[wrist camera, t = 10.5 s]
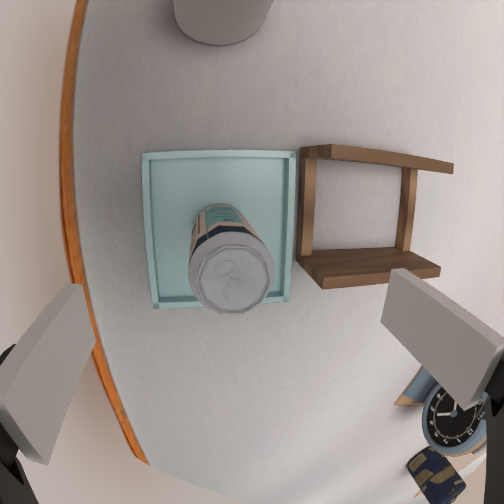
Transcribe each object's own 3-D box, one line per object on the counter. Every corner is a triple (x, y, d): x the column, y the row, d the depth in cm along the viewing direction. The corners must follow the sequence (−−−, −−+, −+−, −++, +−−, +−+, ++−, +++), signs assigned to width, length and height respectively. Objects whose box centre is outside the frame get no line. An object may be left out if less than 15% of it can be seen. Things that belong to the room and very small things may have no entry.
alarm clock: (439, 338, 38) (512, 404, 21) (465, 346, 40) (528, 401, 24) (390, 408, 41) (442, 482, 24) (421, 408, 43) (470, 469, 27)
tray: (145, 153, 24) (141, 153, 22) (290, 152, 26) (296, 151, 24) (155, 300, 28) (153, 308, 27) (284, 293, 30) (289, 301, 29)
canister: (398, 470, 52) (428, 518, 35) (421, 446, 50) (456, 496, 33) (420, 463, 54) (450, 506, 37) (442, 441, 52) (475, 484, 35)
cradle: (300, 147, 26) (331, 144, 20) (409, 159, 28) (453, 163, 22) (296, 260, 29) (322, 289, 23) (400, 255, 32) (439, 276, 25)
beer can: (211, 264, 27) (220, 336, 16) (182, 221, 26) (168, 270, 15) (255, 236, 27) (294, 291, 16) (228, 192, 26) (249, 218, 14)
